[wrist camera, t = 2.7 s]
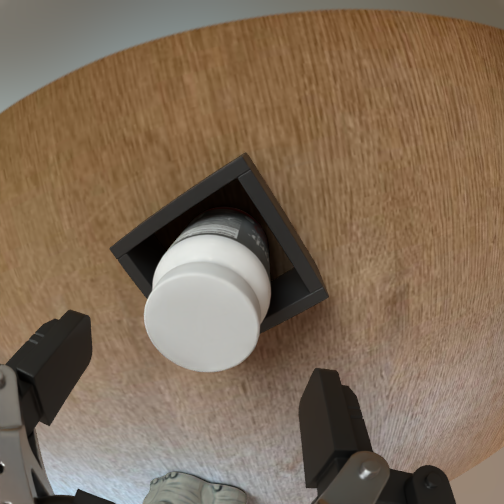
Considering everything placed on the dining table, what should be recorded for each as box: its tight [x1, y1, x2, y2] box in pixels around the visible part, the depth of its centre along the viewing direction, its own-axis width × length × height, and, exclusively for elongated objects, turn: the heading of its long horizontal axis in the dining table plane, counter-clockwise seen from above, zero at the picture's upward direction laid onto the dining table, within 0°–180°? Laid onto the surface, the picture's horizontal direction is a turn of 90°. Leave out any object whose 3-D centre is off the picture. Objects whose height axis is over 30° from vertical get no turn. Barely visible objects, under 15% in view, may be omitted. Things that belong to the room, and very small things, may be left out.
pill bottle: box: [144, 207, 271, 372], centre depth 17 cm, size 6×6×10 cm
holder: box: [110, 153, 329, 333], centre depth 19 cm, size 9×9×4 cm
